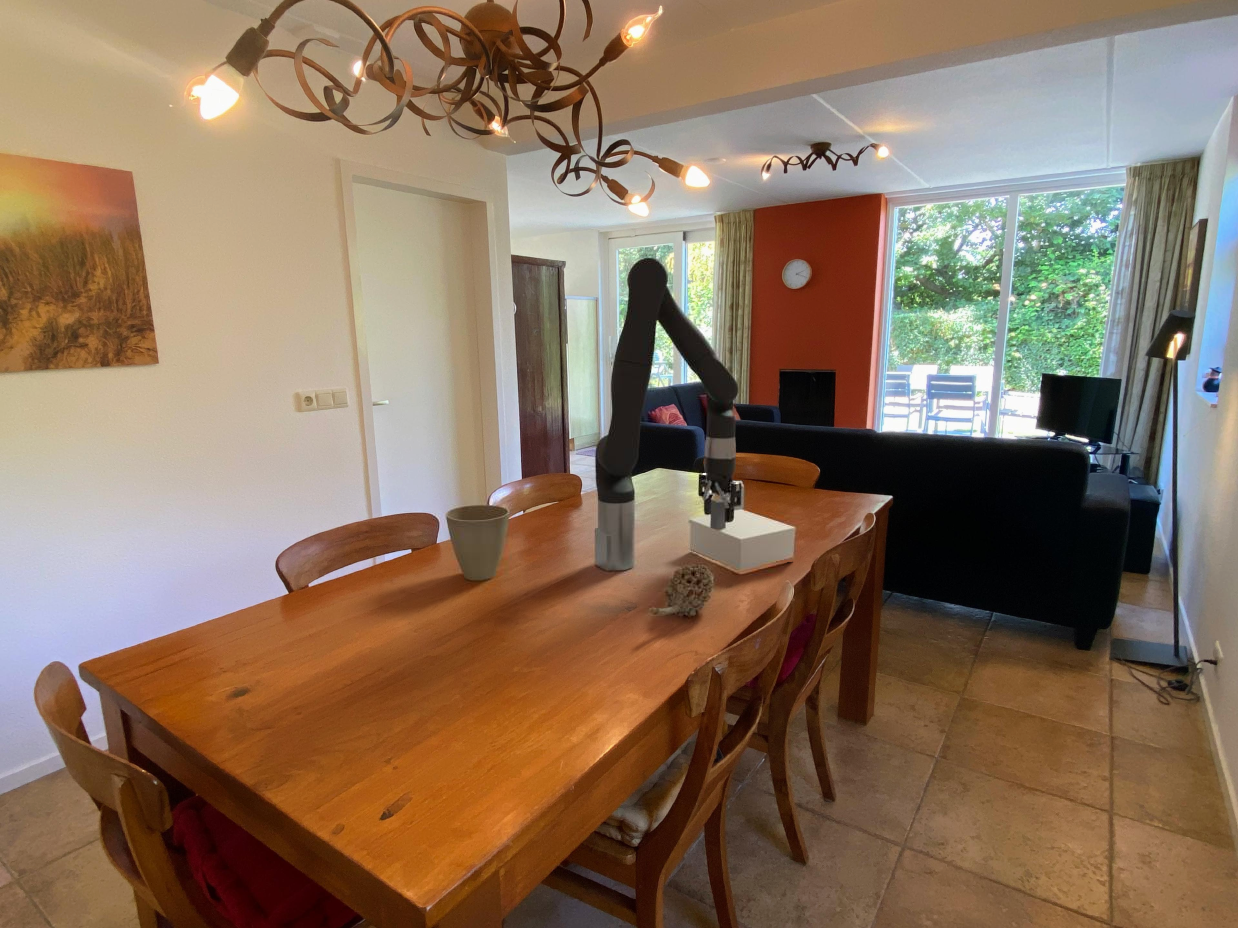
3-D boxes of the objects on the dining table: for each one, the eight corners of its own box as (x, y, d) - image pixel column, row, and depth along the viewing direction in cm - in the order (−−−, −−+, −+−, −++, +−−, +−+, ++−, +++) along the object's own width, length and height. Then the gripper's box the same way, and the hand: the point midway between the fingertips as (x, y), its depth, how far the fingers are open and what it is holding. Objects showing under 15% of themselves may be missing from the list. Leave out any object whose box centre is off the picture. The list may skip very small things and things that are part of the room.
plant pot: (497, 589, 151) (495, 522, 147) (438, 584, 153) (434, 518, 150) (520, 566, 165) (518, 505, 162) (465, 562, 168) (462, 502, 165)
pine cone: (681, 595, 147) (682, 553, 145) (721, 603, 142) (723, 560, 140) (635, 633, 128) (635, 586, 126) (679, 645, 124) (680, 595, 122)
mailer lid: (740, 544, 157) (741, 511, 156) (688, 523, 174) (689, 493, 173) (795, 532, 167) (797, 500, 165) (741, 513, 184) (742, 485, 182)
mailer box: (740, 575, 159) (741, 543, 158) (689, 552, 176) (690, 523, 174) (793, 561, 168) (794, 532, 167) (740, 541, 185) (741, 513, 184)
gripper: (690, 451, 167) (689, 513, 170) (727, 460, 155) (725, 527, 158) (713, 448, 170) (711, 509, 174) (751, 457, 159) (749, 522, 162)
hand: (718, 517), depth 166 cm, fingers open, 7 cm apart
